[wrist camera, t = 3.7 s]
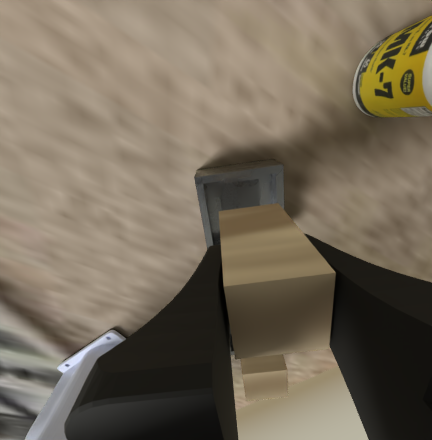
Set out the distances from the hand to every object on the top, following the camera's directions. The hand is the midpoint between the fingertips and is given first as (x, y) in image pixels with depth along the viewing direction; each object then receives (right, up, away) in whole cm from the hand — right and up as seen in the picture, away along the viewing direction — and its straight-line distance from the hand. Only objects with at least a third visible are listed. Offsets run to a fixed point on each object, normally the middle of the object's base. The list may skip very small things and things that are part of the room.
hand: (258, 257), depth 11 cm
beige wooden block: (0, +1, +2) cm, 2 cm away
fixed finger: (+2, -8, +11) cm, 14 cm away
